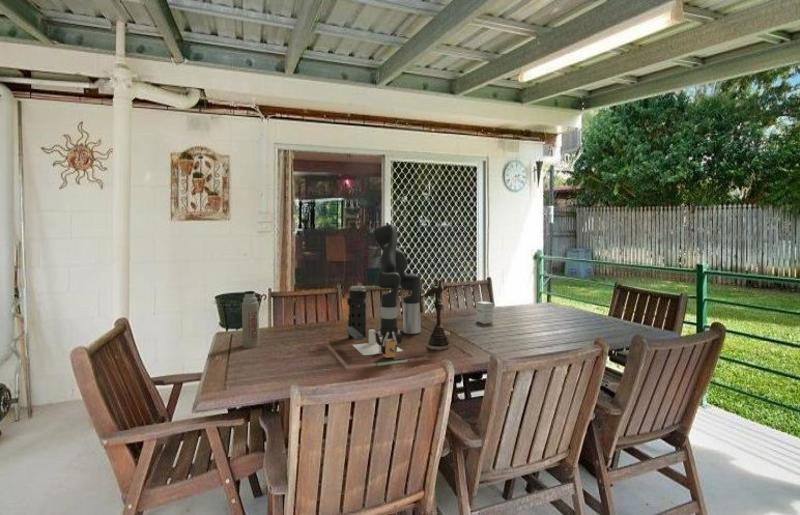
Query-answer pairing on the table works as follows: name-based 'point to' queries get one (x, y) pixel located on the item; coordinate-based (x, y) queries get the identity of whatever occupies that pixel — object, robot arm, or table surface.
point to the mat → (391, 362)
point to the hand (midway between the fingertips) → (389, 353)
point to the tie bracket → (371, 345)
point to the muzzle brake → (357, 309)
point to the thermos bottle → (250, 320)
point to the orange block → (389, 348)
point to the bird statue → (438, 335)
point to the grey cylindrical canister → (484, 312)
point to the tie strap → (354, 333)
